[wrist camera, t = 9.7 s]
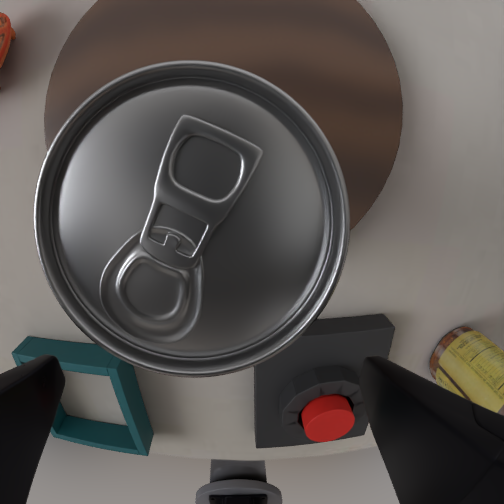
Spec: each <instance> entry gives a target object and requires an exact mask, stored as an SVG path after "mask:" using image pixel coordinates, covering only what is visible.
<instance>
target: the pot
mask: <svg viewBox="0 0 504 504" xmlns="http://www.w3.org/2000/svg"><path fill="white" fill-rule="evenodd" d="M15 38H16V37H15V31H14V30H13V28H12V27H11V23H10V19H9V17H8V16H7V15H5V14H4V13H1V12H0V68H1V67H2V65H3V63H4V60H5V58H6V55H7V52H8V50H9V46H10V41H11V39H12V40H14V39H15ZM0 89H1V87H0Z"/></svg>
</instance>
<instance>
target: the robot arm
mask: <svg viewBox="0 0 504 504" xmlns="http://www.w3.org/2000/svg"><path fill="white" fill-rule="evenodd" d="M64 386H65V376H64V374H63V371H62V368H61V366H60V363H59V360H58V358H57V357H56V356H54V355H48V354H44V355H42V356H39V357H37V358H35V359H33V360H30V361H28V362H26V363H24V364H22V365H19V366H17V367H15V368H13V369H11V370H8V371H6V372H4V373H2V374H0V504H26V502H27V498H28V495H29V491H30V488H31V485H32V482H33V478H34V475H35V472H36V469H37V466H38V463H39V460H40V457H41V455H42V452H43V449H44V446H45V444H46V441H47V438H48V436H49V433H50V431H51V428H52V425H53V423H54V419H55V416H56V413H57V409H58V406H59V402H60V399H61V396H62V392H63V389H64ZM359 387H360V390H361V394H362V398H363V401H364V405H365V409H366V412H367V416H368V420H369V423H370V427H371V430H372V433H373V435H374V438H375V440H376V443H377V445H378V448H379V450H380V453H381V455H382V458H383V460H384V463H385V465H386V468H387V470H388V473H389V476H390V479H391V481H392V484H393V487H394V489H395V491H396V495H397V497H398V500H399V503H400V504H504V415H501V414H498V413H496V412H494V411H491V410H489V409H487V408H485V407H482V406H480V405H478V404H476V403H474V402H473V403H472V402H471V401H470V400H468V399H465V398H463V397H461V396H459V395H457V394H455V393H453V392H451V391H449V390H447V389H445V388H443V387H441V386H439V385H437V384H435V383H433V382H431V381H429V380H427V379H425V378H423V377H421V376H419V375H417V374H415V373H413V372H411V371H409V370H407V369H405V368H403V367H401V366H399V365H397V364H395V363H393V362H391V361H389V360H387V359H385V358H383V357H381V356H379V355H374V356H367V357H366V358H364V361H363V365H362V369H361V374H360V378H359ZM267 501H268V496H267V494H248V495H209V502H210V504H267Z"/></svg>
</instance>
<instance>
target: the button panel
mask: <svg viewBox="0 0 504 504" xmlns="http://www.w3.org/2000/svg"><path fill="white" fill-rule="evenodd" d="M394 330H395V326H394V325H393V324H392V323H391V322H390V321H389V320H388V319H387V317H386V316H385V315H384V314H376V315H366V316H356V317H344V318H332V319H318V320H315V321H314V323H313V324H312V325H311V326H310V327H309V328H308V329H307V330H306V331H305V332H304V333H303V334H302V335H301V336H300V337H299V338H298V339H297V340H296V341H294V342H293V343H292V344H291V345H289V346H288V347H287V348H285V349H284V350H282V351H281V352H279V353H278V354H276V355H275V356H273V357H271V358H269V359H268V360H266V361H264V362H262V363H259V364H257V365H255V366H254V408H255V442H256V448H271V447H284V446H295V445H304V444H313V443H320V442H316V441H313V440H311V439H309V438H308V437H307V436H306V434H305V430H304V426H303V422H302V418H301V413H302V410H303V408H304V407H305V405H306V404H307V403H309V402H310V401H312V400H314V399H316V398H318V397H320V396H322V395H330V394H339V395H342V396H343V397H345V398H346V399H347V401H348V403H349V405H350V407H351V410H352V412H353V414H354V417H355V422H354V425H353V427H352V428H351V429H350V430H349V431H348V432H347V433H346V434H345V435H343V436H342V437H340V438H337V439H335V440H340V439H346V438H351V437H356V436H361V435H364V434H365V431H366V428H367V426H368V423H369V420H368V416H367V412H366V409H365V405H364V401H363V398H362V394H361V390H360V387H359V378H360V374H361V369H362V365H363V361H364V358H366V357H367V356H374V355H379V356H381V357H383V358H385V359H388V355H389V351H390V347H391V343H392V339H393V334H394ZM332 441H334V440H332Z"/></svg>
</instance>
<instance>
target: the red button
mask: <svg viewBox="0 0 504 504" xmlns="http://www.w3.org/2000/svg"><path fill="white" fill-rule="evenodd" d="M301 418H302V422H303V426H304V430H305V434H306V436H307V437H308V438H309V439H311V440H313V441H316V442H327V441H332V440H335V439H337V438H340V437H342V436H343V435H345V434H346V433H347V432H348V431H349V430H350V429H351V428H352V427H353V425H354V422H355V417H354V414H353V412H352V410H351V407H350V405H349V403H348V401H347V399H346V398H345V397H343V396H342V395H339V394H330V395H322V396H320V397H318V398H316V399H314V400H312V401H310V402H309V403H307V404H306V405H305V407H304V408H303V410H302V413H301Z"/></svg>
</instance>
